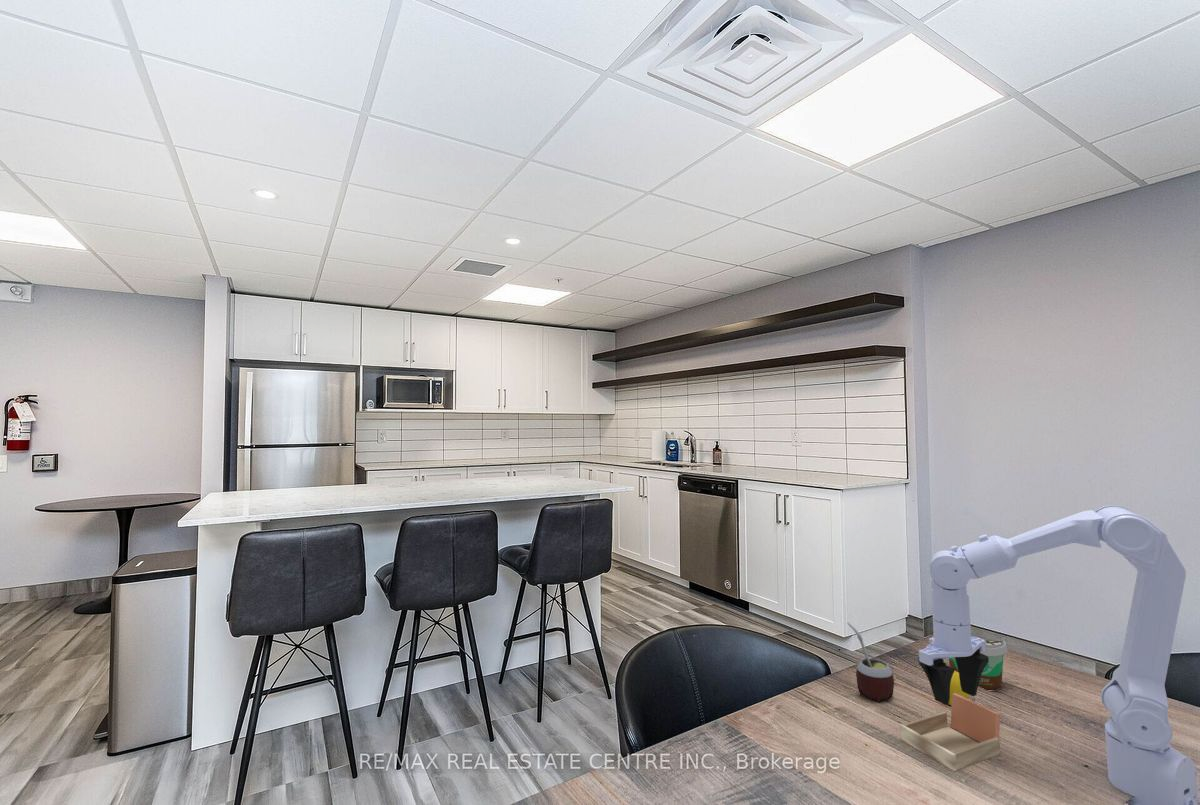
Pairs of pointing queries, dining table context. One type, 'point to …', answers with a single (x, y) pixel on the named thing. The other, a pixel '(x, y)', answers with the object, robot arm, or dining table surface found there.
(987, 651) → the food container
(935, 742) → the cream shallow tray
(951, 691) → the lemon
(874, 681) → the mate gourd
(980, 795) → the dining table surface
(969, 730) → the panel
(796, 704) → the dining table surface
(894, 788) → the dining table surface
